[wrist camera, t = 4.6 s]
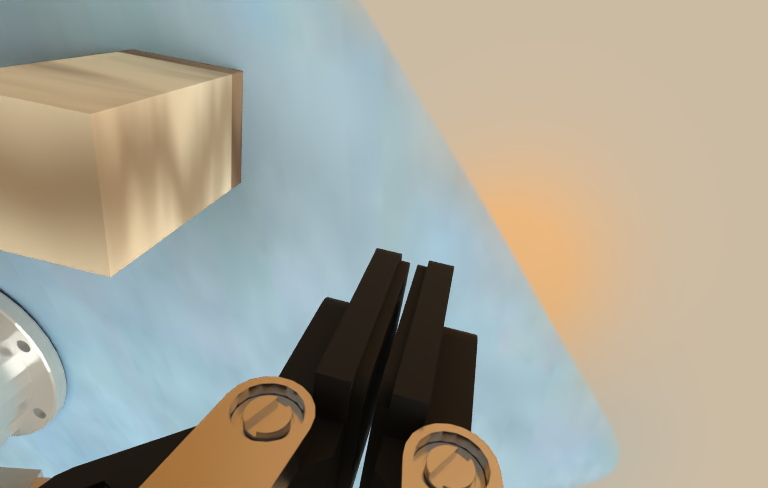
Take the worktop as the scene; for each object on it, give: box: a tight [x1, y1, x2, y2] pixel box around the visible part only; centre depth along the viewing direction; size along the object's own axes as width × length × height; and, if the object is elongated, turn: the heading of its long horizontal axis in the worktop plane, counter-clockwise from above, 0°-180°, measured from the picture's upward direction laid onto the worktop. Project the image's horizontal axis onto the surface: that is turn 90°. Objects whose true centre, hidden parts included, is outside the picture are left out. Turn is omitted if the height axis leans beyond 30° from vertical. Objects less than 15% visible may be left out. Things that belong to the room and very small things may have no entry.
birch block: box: [0, 50, 243, 277], centre depth 18 cm, size 5×5×9 cm
